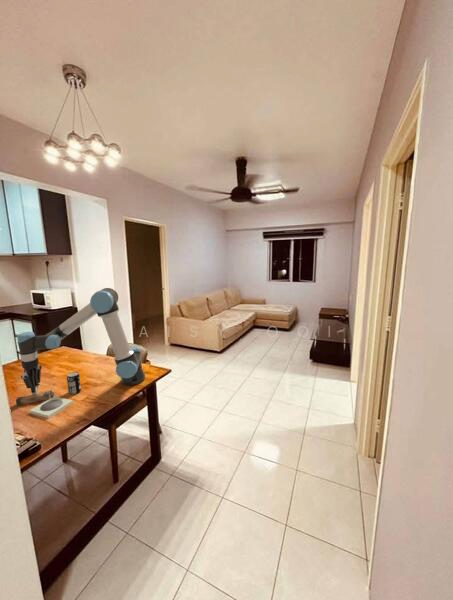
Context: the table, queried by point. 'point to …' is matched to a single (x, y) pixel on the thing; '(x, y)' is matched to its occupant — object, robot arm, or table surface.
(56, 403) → the board
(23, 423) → the table surface
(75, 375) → the beverage can
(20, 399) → the brown grey-ended bar
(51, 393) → the hinge pin
